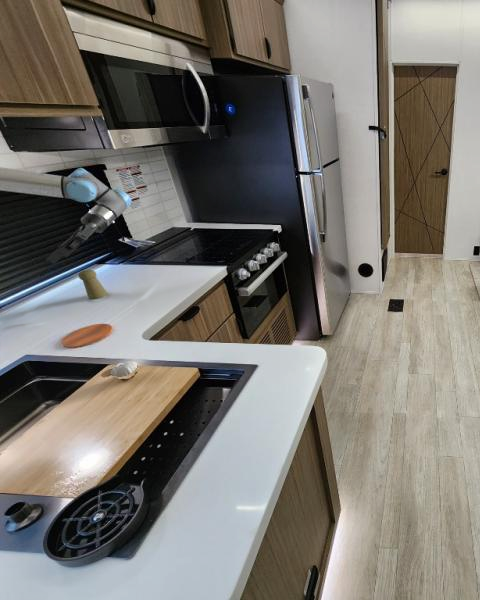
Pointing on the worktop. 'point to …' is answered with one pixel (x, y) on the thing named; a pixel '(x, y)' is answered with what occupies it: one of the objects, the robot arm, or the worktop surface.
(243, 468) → the worktop surface
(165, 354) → the worktop surface
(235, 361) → the worktop surface
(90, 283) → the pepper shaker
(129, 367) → the garlic
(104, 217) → the robot arm
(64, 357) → the worktop surface
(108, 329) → the coaster
